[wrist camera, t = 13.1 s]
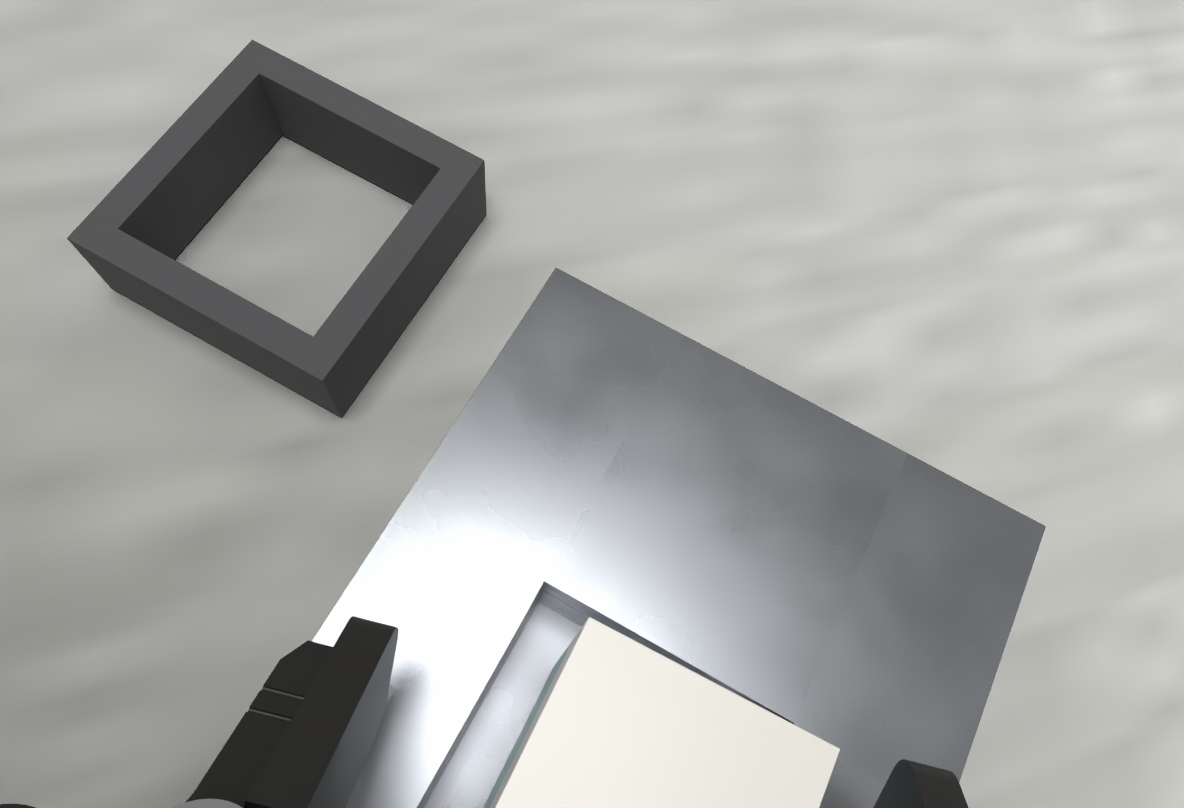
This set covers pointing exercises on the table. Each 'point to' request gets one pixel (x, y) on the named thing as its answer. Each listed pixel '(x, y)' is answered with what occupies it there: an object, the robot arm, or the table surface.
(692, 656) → the block
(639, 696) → the plug
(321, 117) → the dark grey square frame
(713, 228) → the table surface
